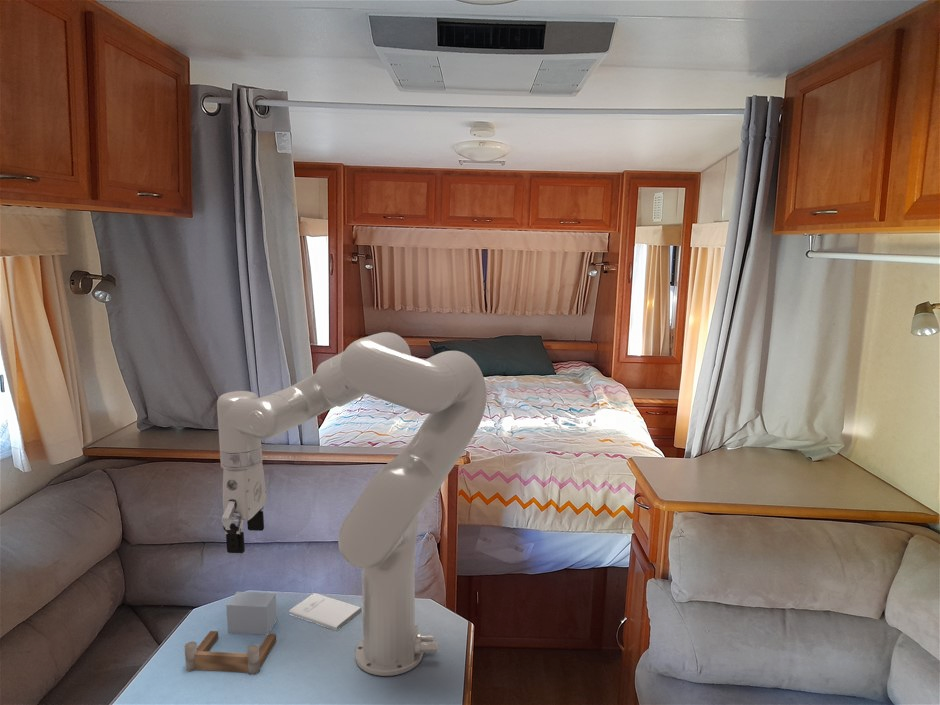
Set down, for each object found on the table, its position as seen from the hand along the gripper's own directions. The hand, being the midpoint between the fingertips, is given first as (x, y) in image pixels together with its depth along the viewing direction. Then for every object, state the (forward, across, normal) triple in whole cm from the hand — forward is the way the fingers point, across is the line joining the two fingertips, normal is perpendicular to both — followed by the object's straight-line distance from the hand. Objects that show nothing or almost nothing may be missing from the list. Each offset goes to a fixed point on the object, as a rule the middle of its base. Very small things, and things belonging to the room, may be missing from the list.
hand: (246, 540), depth 129 cm
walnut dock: (+18, -9, 0) cm, 20 cm away
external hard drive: (+19, +6, -13) cm, 24 cm away
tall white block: (+18, 0, 0) cm, 18 cm away
